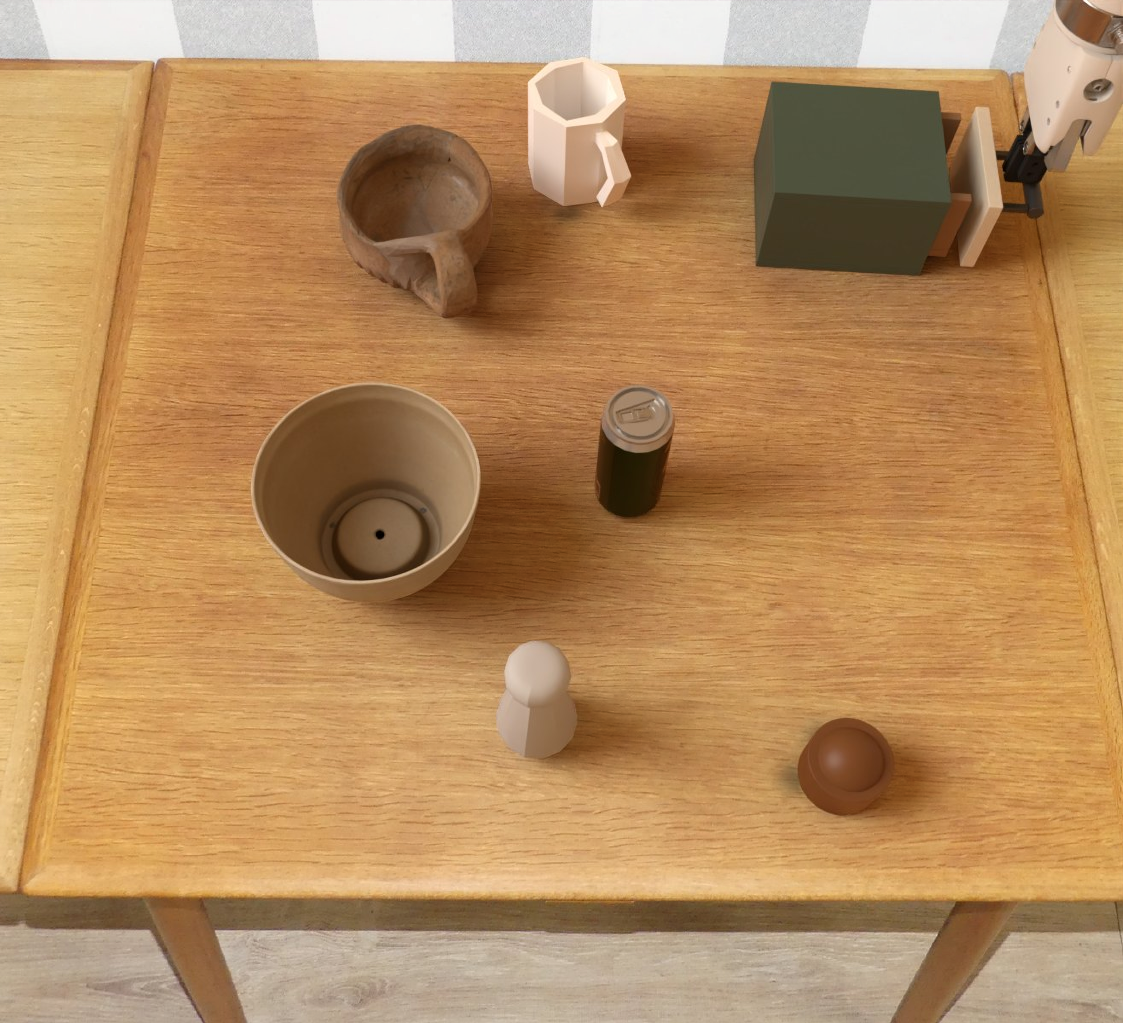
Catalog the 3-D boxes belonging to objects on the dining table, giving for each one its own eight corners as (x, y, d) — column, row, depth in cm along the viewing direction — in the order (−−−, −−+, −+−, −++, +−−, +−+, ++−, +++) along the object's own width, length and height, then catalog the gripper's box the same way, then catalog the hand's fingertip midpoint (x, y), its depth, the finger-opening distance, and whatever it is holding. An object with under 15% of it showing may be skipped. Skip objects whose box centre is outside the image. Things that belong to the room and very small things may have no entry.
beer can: (603, 528, 97) (612, 452, 86) (587, 470, 99) (593, 389, 89) (668, 514, 98) (685, 438, 87) (650, 457, 100) (665, 376, 89)
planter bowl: (298, 664, 91) (270, 607, 81) (263, 480, 98) (234, 408, 88) (507, 612, 93) (505, 551, 84) (459, 436, 100) (451, 361, 91)
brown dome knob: (878, 736, 90) (896, 714, 85) (883, 818, 87) (903, 799, 82) (796, 730, 90) (810, 708, 85) (798, 812, 87) (813, 794, 82)
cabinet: (908, 169, 115) (939, 91, 106) (919, 276, 109) (952, 202, 101) (753, 159, 115) (771, 81, 106) (755, 266, 109) (774, 192, 101)
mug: (511, 161, 114) (509, 80, 105) (588, 125, 116) (592, 43, 108) (581, 247, 110) (585, 170, 101) (659, 208, 112) (670, 129, 103)
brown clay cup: (569, 274, 107) (544, 214, 97) (442, 373, 106) (405, 323, 97) (455, 146, 113) (422, 78, 103) (335, 239, 112) (290, 180, 103)
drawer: (1012, 173, 114) (1043, 110, 107) (1026, 270, 108) (1060, 211, 102) (816, 161, 114) (835, 97, 107) (821, 258, 109) (841, 198, 102)
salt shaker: (481, 717, 90) (474, 655, 78) (545, 675, 91) (547, 608, 80) (526, 782, 87) (526, 728, 76) (591, 738, 89) (600, 678, 77)
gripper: (1180, 80, 87) (1075, 246, 103) (1144, -64, 93) (1051, 114, 110) (1075, 74, 86) (986, 241, 103) (1046, -70, 93) (967, 109, 110)
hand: (1020, 175), depth 106 cm, fingers closed
